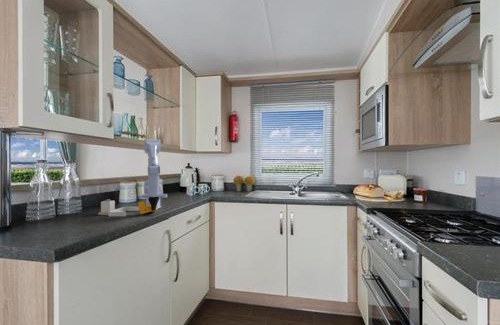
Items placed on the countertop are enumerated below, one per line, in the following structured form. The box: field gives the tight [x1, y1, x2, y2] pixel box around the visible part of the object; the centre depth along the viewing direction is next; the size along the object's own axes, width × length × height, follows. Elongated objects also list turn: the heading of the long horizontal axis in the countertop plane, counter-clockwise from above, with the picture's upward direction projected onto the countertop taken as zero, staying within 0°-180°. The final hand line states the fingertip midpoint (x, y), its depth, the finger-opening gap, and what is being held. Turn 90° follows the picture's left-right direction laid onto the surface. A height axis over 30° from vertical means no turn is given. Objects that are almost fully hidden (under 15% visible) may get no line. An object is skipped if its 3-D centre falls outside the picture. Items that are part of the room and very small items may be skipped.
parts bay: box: [108, 205, 140, 218], centre depth 141 cm, size 18×9×2 cm, turn 0°
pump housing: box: [97, 198, 116, 216], centre depth 141 cm, size 7×7×8 cm
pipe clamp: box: [137, 201, 158, 215], centre depth 141 cm, size 12×4×6 cm, turn 167°
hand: (153, 210), depth 141 cm, fingers closed
